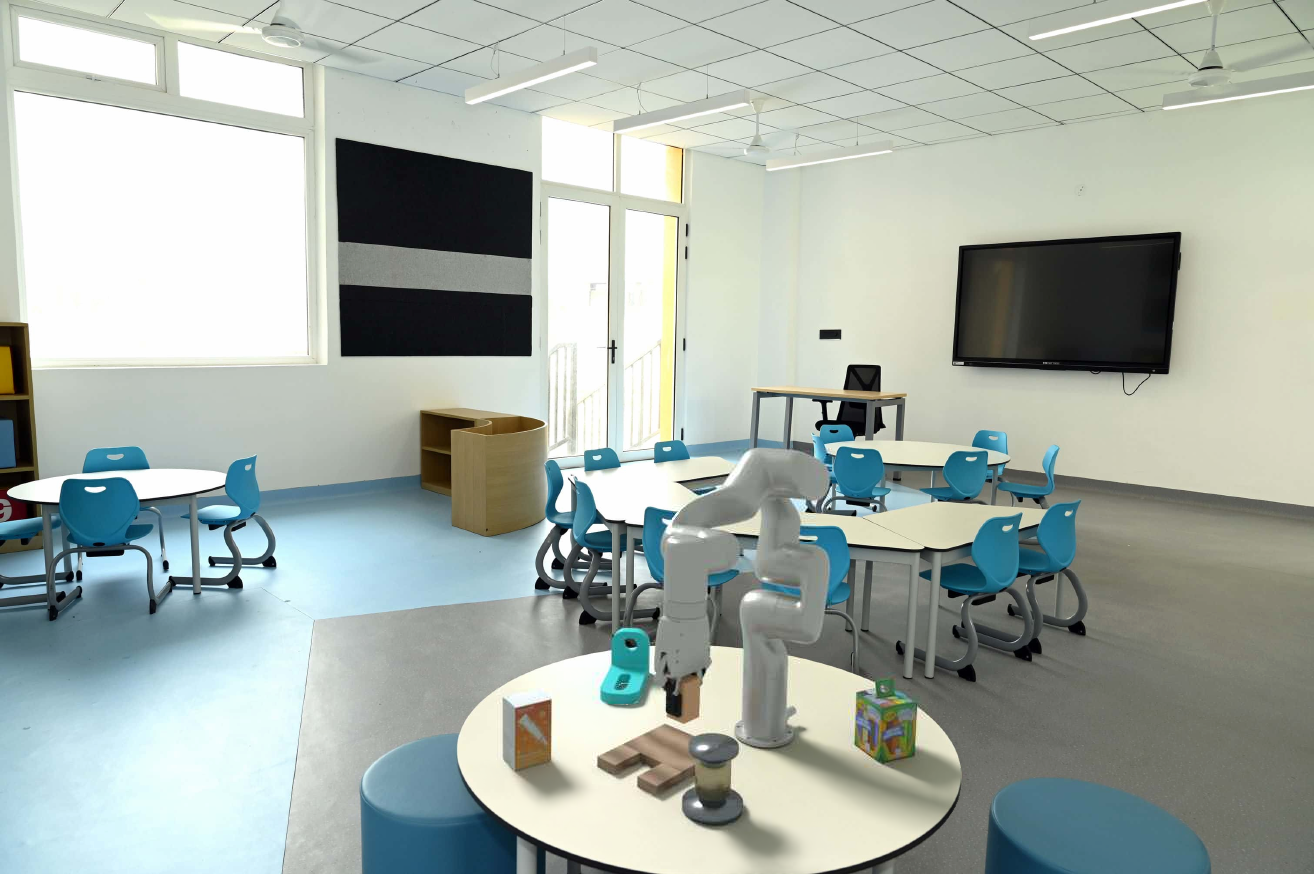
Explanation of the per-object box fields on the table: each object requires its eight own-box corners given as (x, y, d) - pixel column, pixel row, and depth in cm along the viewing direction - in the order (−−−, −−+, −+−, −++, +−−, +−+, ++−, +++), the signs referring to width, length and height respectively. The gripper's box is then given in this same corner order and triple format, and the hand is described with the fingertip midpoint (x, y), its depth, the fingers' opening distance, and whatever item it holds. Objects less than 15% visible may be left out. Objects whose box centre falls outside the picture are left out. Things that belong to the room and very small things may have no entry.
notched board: (665, 732, 176) (665, 723, 176) (723, 757, 165) (723, 748, 165) (597, 765, 161) (597, 756, 161) (656, 796, 150) (656, 785, 150)
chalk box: (880, 764, 163) (883, 693, 162) (852, 744, 172) (854, 676, 170) (917, 755, 167) (920, 686, 165) (887, 736, 175) (890, 670, 174)
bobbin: (708, 785, 154) (709, 724, 153) (755, 807, 147) (757, 744, 146) (669, 808, 146) (670, 744, 145) (717, 833, 139) (718, 766, 138)
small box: (514, 771, 158) (514, 707, 157) (502, 758, 164) (501, 696, 162) (552, 760, 163) (552, 698, 162) (538, 748, 168) (538, 687, 167)
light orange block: (681, 709, 144) (682, 671, 143) (699, 716, 141) (700, 677, 141) (666, 716, 141) (667, 677, 141) (683, 723, 138) (684, 684, 138)
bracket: (613, 671, 210) (613, 627, 209) (649, 673, 209) (649, 629, 207) (597, 704, 190) (597, 655, 189) (637, 706, 189) (637, 657, 188)
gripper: (700, 594, 148) (697, 691, 150) (635, 612, 136) (633, 718, 138) (732, 602, 143) (729, 703, 145) (667, 623, 131) (665, 732, 133)
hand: (682, 709), depth 141 cm, fingers closed on light orange block, 4 cm apart
